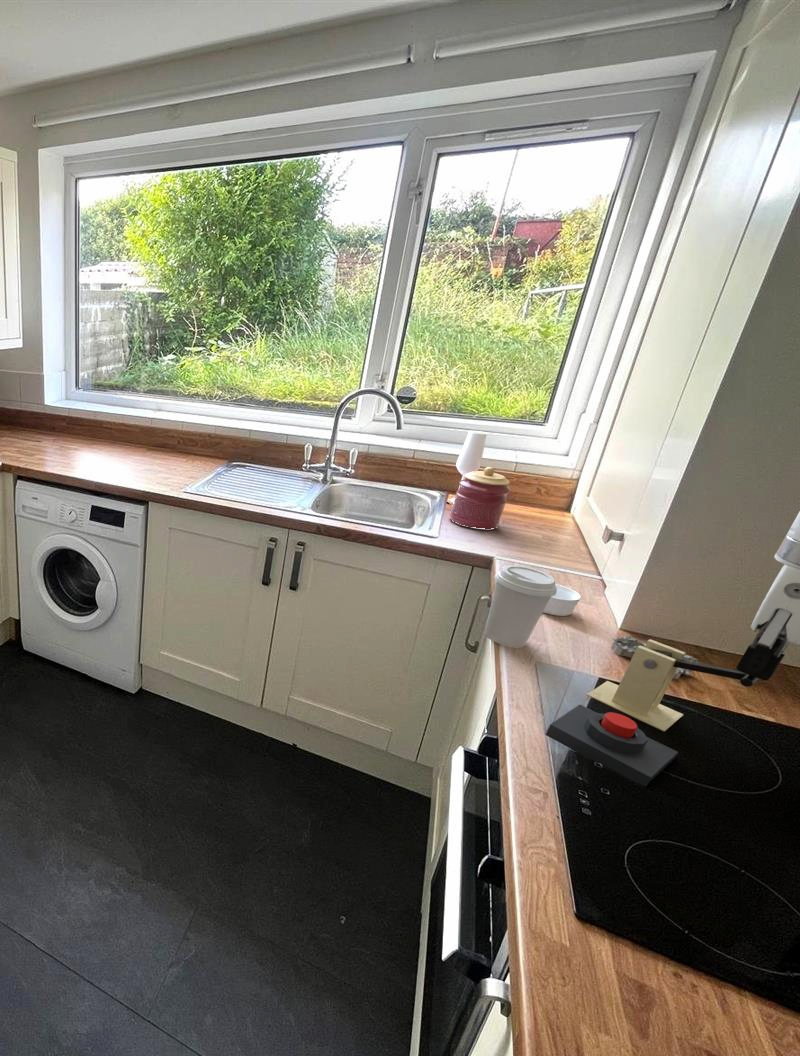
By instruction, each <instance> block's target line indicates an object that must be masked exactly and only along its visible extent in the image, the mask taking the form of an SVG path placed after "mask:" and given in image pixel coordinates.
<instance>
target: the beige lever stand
mask: <svg viewBox="0 0 800 1056" xmlns="http://www.w3.org/2000/svg"><path fill="white" fill-rule="evenodd" d="M648 648H649V649H648ZM650 649H654V650H660V651H665V652H671V653H672V658H671V657H668V656H666V655H663V654H661V653H658V652H656V651H653V650H650ZM685 654H687V652H685V651H682V650H680V649H678V648H674V647H672V646H669V645H666V644H664V643H661V642H659V641H656V640H654V639H651V638H649V639H648V640H647V641H646V645H645V647H643V646H638V647H637V649H636V651H635V653H634V655H633V657H632V658H630V662H629V664H628V665H627V667H626V670H625V672H624V674H623V676H622V679H621V680H620V682H619V684H616V683H614V682H611V681H609V680H606V681H605V682H603V683H602V684H600V685H598V686H597V687H596V688H594V689H593V690H591V691H589V692H588V693H587V694H586V696H588V697H590V698H592V699H594V700H596V701H598V702H600V703H602V704H604V705H607V706H609V707H611V708H613V709H615V710H618V711H619V712H622V713H623V714H626V715H628V716H630V717H632V718H635V719H636V720H638V721H641V722H643V723H645V724H647V725H649V726H651V727H653V728H656V729H658V730H660V731H662V732H663V733H664V732H666V731H667V730H668V729H669V728H670V727H671V726H673V725H674V724H675V723H676V722H678V720H680V719H681V718H682V717H684V715H685V714H684V713H681V712H679V711H677V710H675V709H673V708H670V707H668V706H666V705H663V704H662V703H661V702H662V700H663V698H664V695H665V694H666V692H667V690H668V689H669V686H670V684H671V683H672V681H673V679H674V678H673V677H674V675H675V673H676V671H677V669H678V668H677V667H673V665H674V663H675V661H676V659H679V660H682V659H683V658H684V656H685ZM673 658H674V659H673Z"/></svg>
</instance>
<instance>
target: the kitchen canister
mask: <svg viewBox="0 0 800 1056" xmlns="http://www.w3.org/2000/svg"><path fill="white" fill-rule="evenodd" d="M495 471H496V470H495V468H494V467H492V466H487V467H485V468H484V470H478V471H472V472H471V473H467V474H465V479H464V480H462V479H460V480H459V482H458V484H459V486H460V488H459V487H458V490H456V492H455V496H454V498H455V500H454V503H453V505H451V510H450V511H449V517H450V519H451V520H453V521H454V522H457V523H459V524H461V525H465V526H468V527H476V528H485V529H491V528H496V527H497V528H498V527H499V525H500V523H501V521H502V517H503V516H502V515H503V513H504V509H505V506H506V505H507V503H508V499H507V496H508V494H510V493H511V488H510V487H508V485H509V484H511V481H510V480H509V479H508V478H506V477H505V476H504V475H503V474H500V473H496V472H495ZM450 519H449V520H450ZM451 520H450V521H451ZM454 522H453V523H454ZM461 525H460V526H461ZM497 528H496V529H497Z"/></svg>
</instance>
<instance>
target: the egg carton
mask: <svg viewBox="0 0 800 1056" xmlns="http://www.w3.org/2000/svg"><path fill="white" fill-rule="evenodd" d="M612 640H613V642H612V645H611V647H610V649H611V650H612V651H614V652H613V653H614V654H615V655H618V656H624V657H628V658H630V659H632V657H633V655H634V653H635V651H636V649H637V647H638V646H643V647H645V645H646V643H647V642H646V643H644V642H642V641H638V639H636V638H635V637H632V636H631V635H629V636H627V635H626V636H621V637H616V638H614V637H613V638H612ZM682 660H684V661H690V662H695V663H700V659H698V658H695V657H694V656H692V655H688V654H687V653H686V654H685V656H684V658H683V659H682ZM691 673H692V670H687V669H682V668H678V669H677V671H676V673H675V675H674V677H673V679H674V680H678V679H679V678H680V677H681V675H684V676H690V675H691Z"/></svg>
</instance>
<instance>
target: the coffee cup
mask: <svg viewBox="0 0 800 1056" xmlns="http://www.w3.org/2000/svg"><path fill="white" fill-rule="evenodd" d="M493 577H494V580H495V586H494V591H493V594H492V599H491V601H490V607H489V611H488V615H487V616H488V617H487V620H486V624H485V628H484V631H483V636H485V637H486V638H487V639H489V641H492V642H493V643H496V644H499V645H501V646H505V647H508V648H513V649H514V648H515V649H516V648H517V649H519V648H524V647H525V646H526V644H527V642H528V640H529V639H530V637H531V635H532V634H533V631H534V629H535V627H536V626H537V623H538V622H539V621H540V618H541V616H542V614H543V613H544V612H543V611H544V609H545V607H546V605H547V603H548V601H549V600H550V598H551V596H553V595H555V594H556V593H557V588H556V585H555V584H556V579H555V578H554V577H553V576H552V575H551V574H549V573H547V572H545V571H542V570H540V569H538V568H533V567H529V566H524V565H520V564H519V565H517V564H509V565H505V566H503V567H502V569H500V570H498V572H496V573H495V575H494V576H493Z"/></svg>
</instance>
